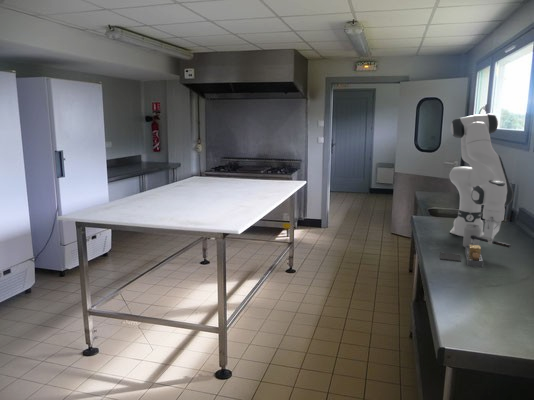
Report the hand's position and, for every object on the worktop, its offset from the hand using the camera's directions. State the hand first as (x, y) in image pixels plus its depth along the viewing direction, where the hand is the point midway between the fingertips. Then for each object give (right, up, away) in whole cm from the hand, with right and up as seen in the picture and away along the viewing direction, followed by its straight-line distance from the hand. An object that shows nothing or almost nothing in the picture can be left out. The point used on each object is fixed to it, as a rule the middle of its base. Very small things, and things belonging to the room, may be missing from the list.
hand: (490, 244), depth 197 cm
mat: (-17, -7, +3) cm, 19 cm away
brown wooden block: (-9, -5, -2) cm, 10 cm away
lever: (+1, +1, +3) cm, 3 cm away
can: (0, -4, +19) cm, 20 cm away
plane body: (-7, -7, +1) cm, 10 cm away
